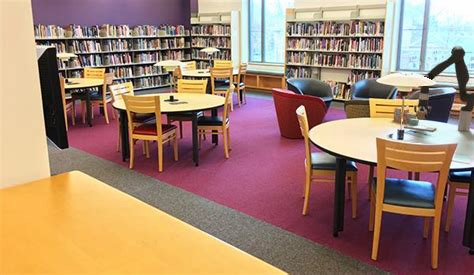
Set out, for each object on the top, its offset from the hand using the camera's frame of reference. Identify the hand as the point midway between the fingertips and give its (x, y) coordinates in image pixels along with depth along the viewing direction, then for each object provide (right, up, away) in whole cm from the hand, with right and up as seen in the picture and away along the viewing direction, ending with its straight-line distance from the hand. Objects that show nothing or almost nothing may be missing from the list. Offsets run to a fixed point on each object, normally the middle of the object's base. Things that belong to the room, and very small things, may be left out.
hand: (421, 117), depth 360 cm
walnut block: (0, -1, 0) cm, 1 cm away
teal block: (0, -7, +15) cm, 16 cm away
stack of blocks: (-2, -3, +32) cm, 32 cm away
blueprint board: (0, -10, +3) cm, 10 cm away
